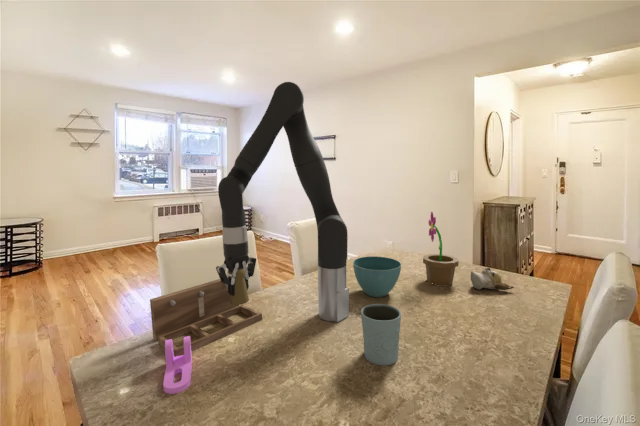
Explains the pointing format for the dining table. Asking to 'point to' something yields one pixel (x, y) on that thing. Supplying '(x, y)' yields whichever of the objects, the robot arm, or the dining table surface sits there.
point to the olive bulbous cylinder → (239, 288)
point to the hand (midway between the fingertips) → (238, 292)
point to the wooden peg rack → (197, 314)
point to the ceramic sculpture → (488, 280)
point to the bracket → (177, 367)
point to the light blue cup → (381, 333)
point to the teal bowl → (376, 274)
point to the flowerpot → (439, 261)
